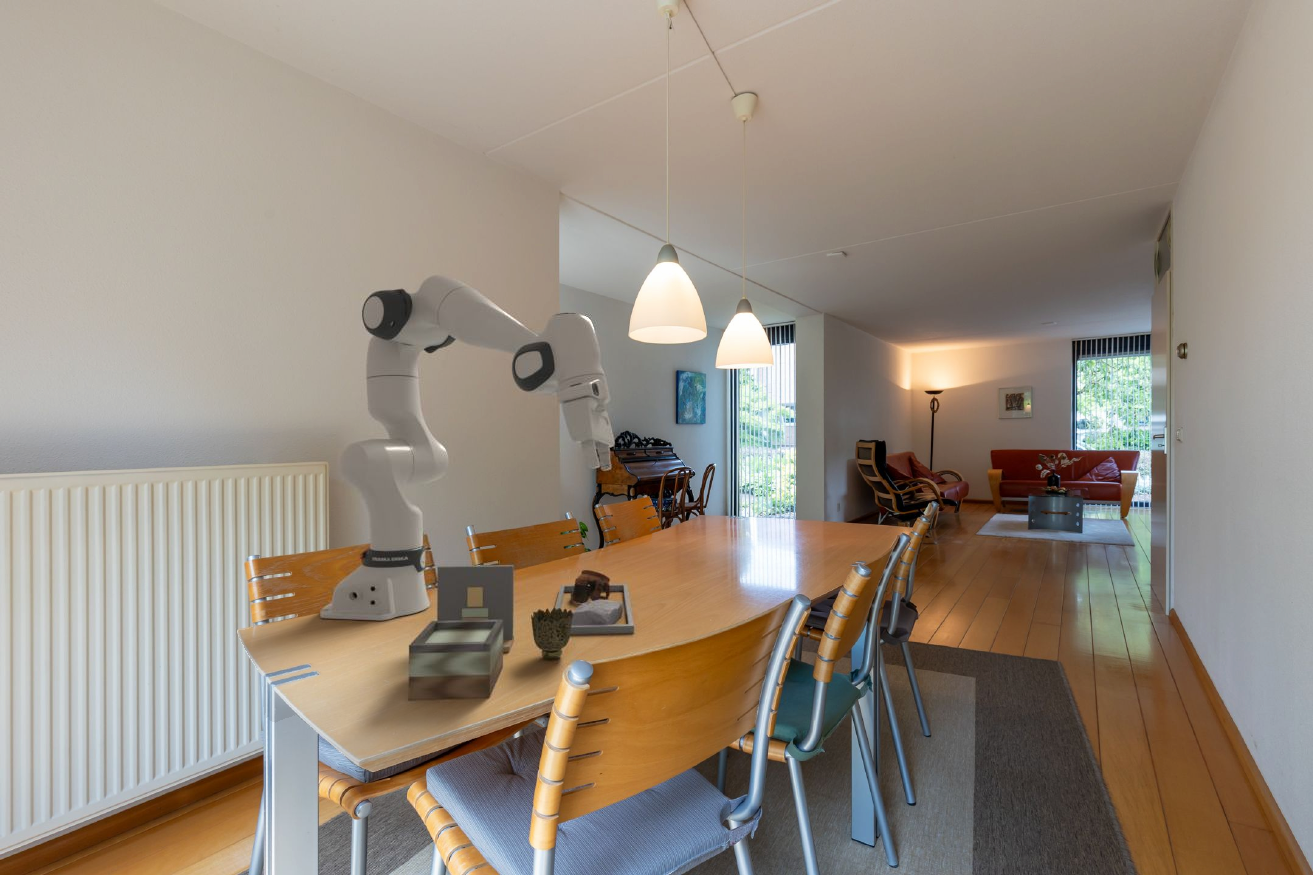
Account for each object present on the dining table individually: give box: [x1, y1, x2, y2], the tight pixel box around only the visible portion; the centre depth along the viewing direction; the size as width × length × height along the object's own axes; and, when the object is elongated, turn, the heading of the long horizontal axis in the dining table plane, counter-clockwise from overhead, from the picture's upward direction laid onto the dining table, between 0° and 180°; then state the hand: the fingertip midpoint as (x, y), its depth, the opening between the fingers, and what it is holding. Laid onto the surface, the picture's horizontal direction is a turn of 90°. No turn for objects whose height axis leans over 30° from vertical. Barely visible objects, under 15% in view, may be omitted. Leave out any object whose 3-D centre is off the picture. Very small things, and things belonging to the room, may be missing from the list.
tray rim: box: [554, 583, 635, 636], centre depth 137 cm, size 17×34×2 cm, turn 5°
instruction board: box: [436, 564, 515, 653], centre depth 112 cm, size 14×6×15 cm, turn 95°
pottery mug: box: [570, 569, 611, 604], centre depth 145 cm, size 12×10×8 cm
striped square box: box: [408, 620, 504, 701], centre depth 96 cm, size 12×12×8 cm
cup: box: [530, 607, 573, 661], centre depth 108 cm, size 8×7×8 cm
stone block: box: [572, 599, 624, 626], centre depth 129 cm, size 12×5×10 cm
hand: (601, 469), depth 109 cm, fingers open, 8 cm apart
